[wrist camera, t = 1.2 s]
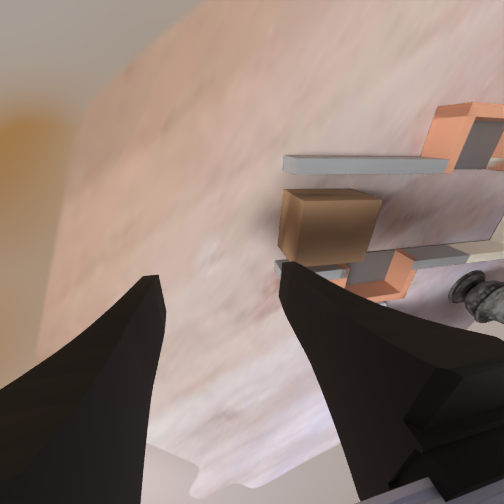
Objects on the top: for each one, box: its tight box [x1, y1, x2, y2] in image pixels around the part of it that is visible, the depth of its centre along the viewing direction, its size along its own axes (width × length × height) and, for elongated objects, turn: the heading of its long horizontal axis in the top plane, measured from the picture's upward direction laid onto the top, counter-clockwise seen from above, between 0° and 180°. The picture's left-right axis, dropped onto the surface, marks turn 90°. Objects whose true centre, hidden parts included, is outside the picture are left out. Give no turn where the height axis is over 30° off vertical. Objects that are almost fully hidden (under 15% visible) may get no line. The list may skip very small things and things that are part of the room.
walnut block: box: [278, 189, 383, 267], centre depth 18 cm, size 5×6×4 cm
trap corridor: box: [274, 102, 504, 302], centre depth 20 cm, size 17×28×2 cm, turn 88°
